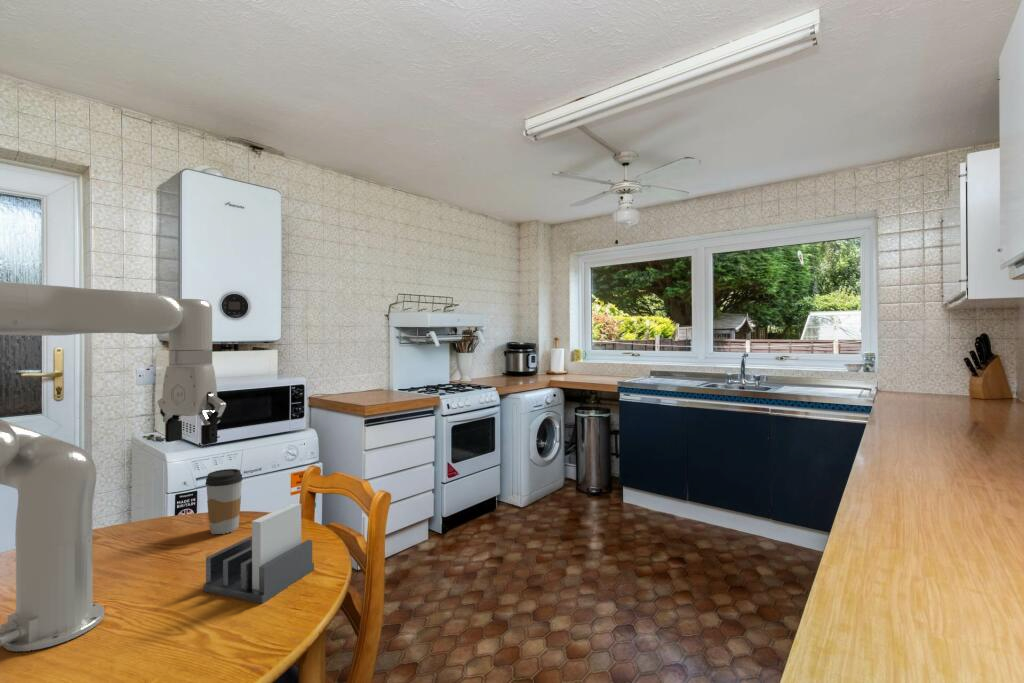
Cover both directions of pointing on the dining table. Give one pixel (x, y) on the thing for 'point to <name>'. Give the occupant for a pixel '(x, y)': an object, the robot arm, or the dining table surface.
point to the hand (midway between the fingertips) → (191, 442)
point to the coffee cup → (224, 500)
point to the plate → (274, 536)
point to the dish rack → (234, 571)
